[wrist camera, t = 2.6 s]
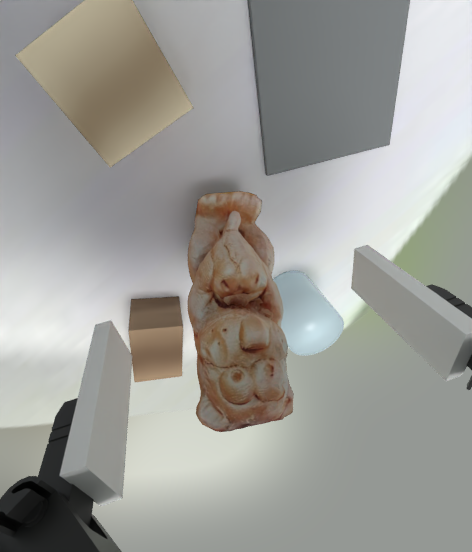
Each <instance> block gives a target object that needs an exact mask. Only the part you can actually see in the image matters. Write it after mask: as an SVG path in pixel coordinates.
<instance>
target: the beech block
mask: <svg viewBox="0 0 472 552" xmlns="http://www.w3.org/2000/svg"><path fill="white" fill-rule="evenodd" d="M15 56H16V57H17V58H18V60H19V61H20V62H21V63H22V64H23V65H24V67H25V68H26V69H27V70H28V71H29V73H30V74H31V75H32V76H33V77H34V78H35V80H36V81H37V82H38V83H39V84H40V86H41V87H42V88H43V89H44V90H45V91H46V93H47V94H48V95H49V96H50V97H51V98H52V100H53V101H54V102H55V103H56V104H57V106H58V107H59V108H60V109H61V110H62V111H63V113H64V114H65V115H66V116H67V117H68V119H69V120H70V121H71V122H72V123H73V124H74V126H75V127H76V128H77V129H78V130H79V131H80V133H81V134H82V135H83V136H84V137H85V139H86V140H87V141H88V142H89V143H90V144H91V146H92V147H93V148H94V149H95V150H96V152H97V153H98V154H99V155H100V156H101V157H102V159H103V160H104V161H105V162H106V163H107V164H108V166H109V167H112V166H113V165H115V164H116V163H117V162H119V161H120V160H122V159H123V158H124V157H126V156H127V155H129V154H130V153H131V152H133V151H134V150H136V149H137V148H138V147H140V146H141V145H143V144H144V143H145V142H147V141H148V140H149V139H151V138H152V137H154V136H155V135H156V134H158V133H159V132H161V131H162V130H163V129H165V128H166V127H168V126H169V125H170V124H172V123H173V122H175V121H176V120H177V119H179V118H180V117H182V116H183V115H184V114H186V113H187V112H188V111H190V110H191V109H193V106H192V104H191V102H190V101H189V99H188V97H187V95H186V94H185V92H184V90H183V88H182V87H181V85H180V83H179V81H178V80H177V78H176V76H175V74H174V73H173V71H172V69H171V67H170V66H169V64H168V62H167V60H166V59H165V57H164V55H163V53H162V52H161V50H160V48H159V46H158V45H157V43H156V41H155V39H154V37H153V36H152V34H151V32H150V30H149V29H148V27H147V25H146V23H145V22H144V20H143V18H142V16H141V15H140V13H139V11H138V9H137V8H136V6H135V4H134V2H133V1H132V0H84V1H83V2H82V3H80V4H79V5H78V6H77V7H75V8H74V9H73V10H72V11H70V12H69V13H68V14H67V15H65V16H64V17H63V18H62V19H60V20H59V21H58V22H57V23H55V24H54V25H53V26H52V27H50V28H49V29H48V30H47V31H45V32H44V33H43V34H42V35H40V36H39V37H38V38H37V39H35V40H34V41H33V42H32V43H30V44H29V45H28V46H27V47H25V48H24V49H23V50H22V51H20V52H19V53H18V54H17V55H15Z"/></svg>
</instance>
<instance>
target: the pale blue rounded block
mask: <svg viewBox="0 0 472 552" xmlns="http://www.w3.org/2000/svg"><path fill="white" fill-rule="evenodd" d="M273 281H274V282H275V283H276V285H277V287H278V290H279V293H280V296H281V299H282V303H283V309H284V313H283V318H282V321H281V329H282V330H283V332H284V334H285V337H286V340H287V344H288V346H289V348H290V350H291V351H292V352H294V353H295V354H298V355H312V354H316V353H319V352H321V351H323V350H325V349H327V348H328V347H329V346H331V345H332V344H333V343H334V342H335V341H336V340H337V339H338V338H339V336H340V335H341V333H342V331H343V327H344V322H343V319H342V317H341V316H340V315H339V313H338V312H337V311H336V310H335V309H334V307H333V306H332V305H331V304H330V303H329V301H328V300H327V299H326V298H325V297H324V295H323V294H322V293H321V292H320V291H319V289H318V288H317V287H316V286H315V285H314V283H313V282H312V281H311V280H310V279H309V277H308V276H307V275H306V274H304V273H302V272H299V271H289V272H285V273H283V274H280V275H279V276H277V277H276V278H274V279H273Z"/></svg>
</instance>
